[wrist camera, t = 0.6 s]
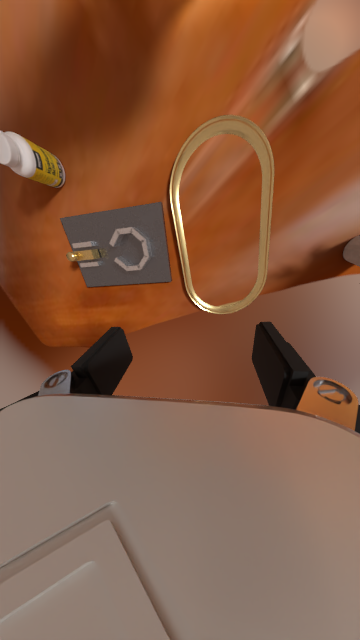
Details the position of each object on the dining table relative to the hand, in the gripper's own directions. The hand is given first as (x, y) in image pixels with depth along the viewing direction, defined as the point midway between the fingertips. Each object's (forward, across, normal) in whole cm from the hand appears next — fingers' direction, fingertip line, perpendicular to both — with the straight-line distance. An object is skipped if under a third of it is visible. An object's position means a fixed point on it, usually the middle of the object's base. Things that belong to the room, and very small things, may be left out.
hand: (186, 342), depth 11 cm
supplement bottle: (+30, +29, -22) cm, 47 cm away
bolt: (+28, +27, -6) cm, 39 cm away
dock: (+29, +19, -6) cm, 35 cm away
